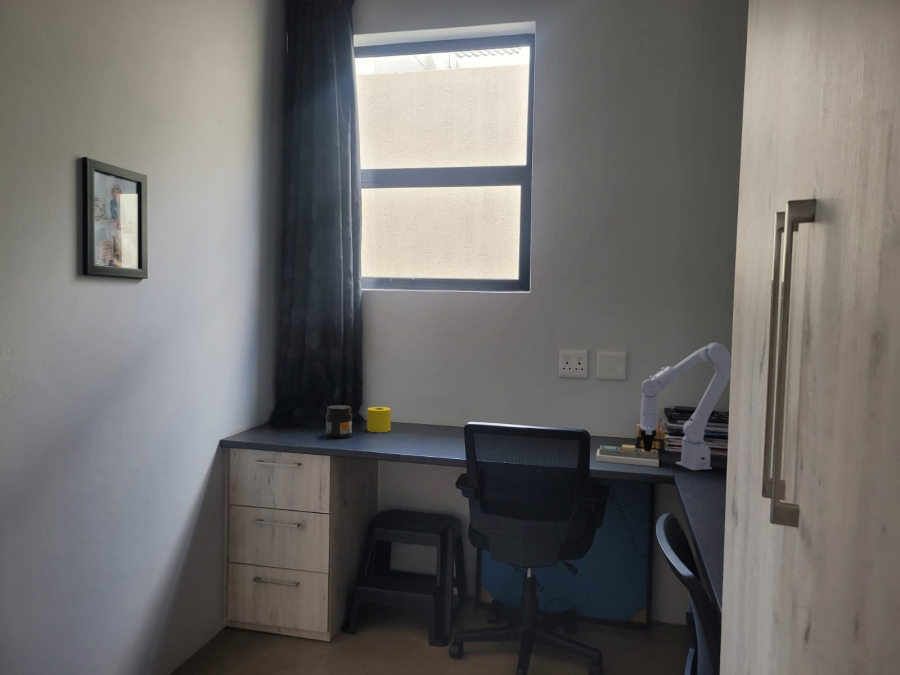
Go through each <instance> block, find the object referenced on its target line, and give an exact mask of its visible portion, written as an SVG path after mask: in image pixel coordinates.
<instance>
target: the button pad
mask: <svg viewBox="0 0 900 675" xmlns="http://www.w3.org/2000/svg"><path fill="white" fill-rule="evenodd" d="M604 446H605V445H599V448H597V451H596V455H595V456H596V457H595V461H596V462H603V463H613V464H625V465H635V466H645V467H646V466H647V467H658V468H659V464H660V462H659V452H658V450H654V454H652V453H641V449H637V448H636V447H635V452H629V451H622V446H615V447H616V450H606V449H603V448H604Z"/></svg>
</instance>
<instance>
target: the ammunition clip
mask: <svg viewBox="0 0 900 675" xmlns="http://www.w3.org/2000/svg"><path fill="white" fill-rule="evenodd" d="M637 424H640V418H638V422H637ZM665 427H666V423H665V421H664V420H663V421H662V423H661V424H660V420H658V419H657V429H655V431H656V433H657V434H656V436H655V438H654V440H653V444H652V448H651V450H658V453H665V452H666V428H665ZM640 430H644V429H642V428H640V427H637V428H636V443H635V448H637V449H644V445H643V439H642V436H641V434H640Z"/></svg>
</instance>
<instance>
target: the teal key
mask: <svg viewBox="0 0 900 675" xmlns="http://www.w3.org/2000/svg"><path fill="white" fill-rule="evenodd" d="M603 446H604V448H603V449H606V450H616V447H617V446H612V445H603Z"/></svg>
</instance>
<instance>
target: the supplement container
mask: <svg viewBox="0 0 900 675" xmlns="http://www.w3.org/2000/svg"><path fill="white" fill-rule="evenodd" d="M326 409H327V410H326V411H327V413H326V414H325V436H326V437H327V438H329V437H330V438H329V439H347V438H349V437H351V436H352V435H353V432H352V431H353V430H352V429H353V427H352V424H353V421H352V420H353V414H352V413H351V412H352V407H351V406H350V405H341V404H340V405H339V404H337V405H329V406H327V407H326ZM346 437H347V438H346Z"/></svg>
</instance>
